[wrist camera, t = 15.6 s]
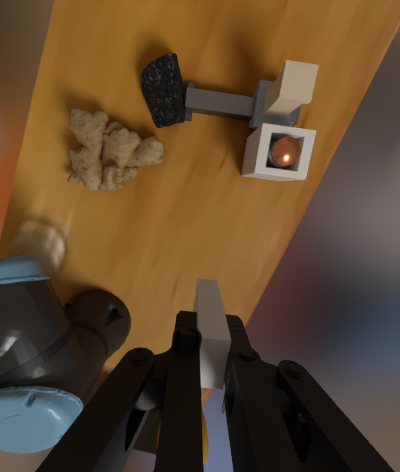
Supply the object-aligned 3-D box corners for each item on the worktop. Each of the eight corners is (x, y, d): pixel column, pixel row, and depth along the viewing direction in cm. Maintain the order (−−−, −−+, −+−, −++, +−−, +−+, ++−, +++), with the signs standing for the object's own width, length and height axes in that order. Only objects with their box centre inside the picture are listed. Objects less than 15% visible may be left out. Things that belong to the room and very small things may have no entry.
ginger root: (48, 165, 41) (23, 151, 33) (105, 103, 42) (93, 75, 34) (118, 219, 44) (110, 218, 36) (168, 159, 45) (172, 146, 37)
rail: (184, 120, 41) (184, 116, 38) (188, 84, 40) (188, 77, 37) (289, 135, 42) (295, 132, 39) (296, 100, 40) (303, 94, 38)
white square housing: (241, 175, 43) (254, 172, 33) (247, 135, 42) (263, 120, 32) (280, 181, 44) (305, 179, 34) (288, 141, 42) (317, 127, 32)
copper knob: (259, 167, 38) (271, 163, 32) (263, 142, 37) (276, 134, 32) (281, 170, 38) (297, 167, 33) (286, 145, 38) (303, 138, 32)
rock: (154, 132, 41) (147, 123, 36) (138, 71, 39) (129, 51, 33) (190, 123, 41) (190, 113, 35) (177, 61, 39) (174, 40, 33)
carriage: (247, 131, 41) (270, 107, 29) (254, 89, 40) (281, 45, 27) (278, 136, 41) (314, 114, 29) (286, 94, 40) (328, 53, 27)
